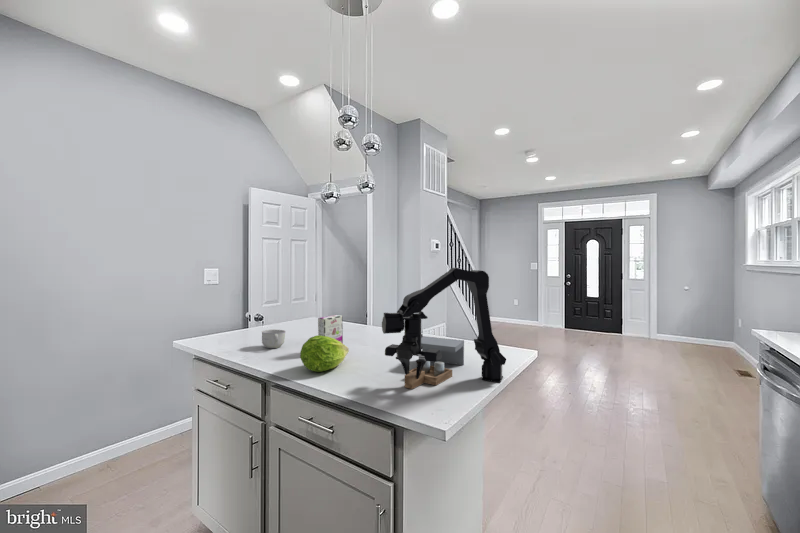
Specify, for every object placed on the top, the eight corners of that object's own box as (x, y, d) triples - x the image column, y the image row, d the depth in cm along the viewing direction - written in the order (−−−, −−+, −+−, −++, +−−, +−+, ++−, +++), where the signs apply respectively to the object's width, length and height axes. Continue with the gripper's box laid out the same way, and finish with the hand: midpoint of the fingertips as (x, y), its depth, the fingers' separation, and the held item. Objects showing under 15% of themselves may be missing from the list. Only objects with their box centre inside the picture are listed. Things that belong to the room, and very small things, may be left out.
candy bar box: (335, 348, 173) (335, 314, 173) (343, 350, 170) (343, 315, 170) (317, 353, 164) (317, 317, 164) (324, 355, 161) (324, 318, 161)
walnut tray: (452, 376, 133) (452, 361, 133) (423, 392, 117) (423, 375, 117) (424, 370, 140) (424, 356, 140) (393, 384, 124) (394, 368, 124)
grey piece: (463, 364, 148) (464, 340, 148) (455, 373, 137) (455, 347, 136) (423, 359, 156) (423, 336, 155) (411, 367, 144) (411, 342, 144)
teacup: (262, 345, 179) (262, 329, 179) (285, 343, 182) (285, 328, 182) (260, 352, 166) (260, 334, 166) (285, 350, 169) (285, 333, 169)
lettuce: (362, 365, 150) (359, 331, 153) (323, 373, 129) (320, 334, 132) (334, 367, 157) (332, 335, 160) (292, 375, 136) (291, 338, 139)
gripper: (377, 333, 119) (376, 381, 119) (430, 339, 111) (430, 390, 111) (392, 328, 129) (392, 371, 129) (442, 332, 121) (441, 379, 121)
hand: (412, 377), depth 122 cm, fingers closed on walnut tray, 3 cm apart
